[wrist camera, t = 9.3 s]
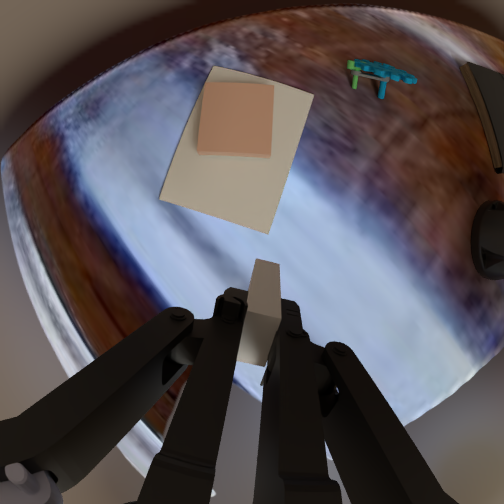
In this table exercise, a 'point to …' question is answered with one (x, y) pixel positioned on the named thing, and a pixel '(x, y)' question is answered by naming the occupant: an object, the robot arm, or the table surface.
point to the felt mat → (238, 162)
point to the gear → (378, 73)
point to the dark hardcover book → (488, 106)
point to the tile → (236, 120)
